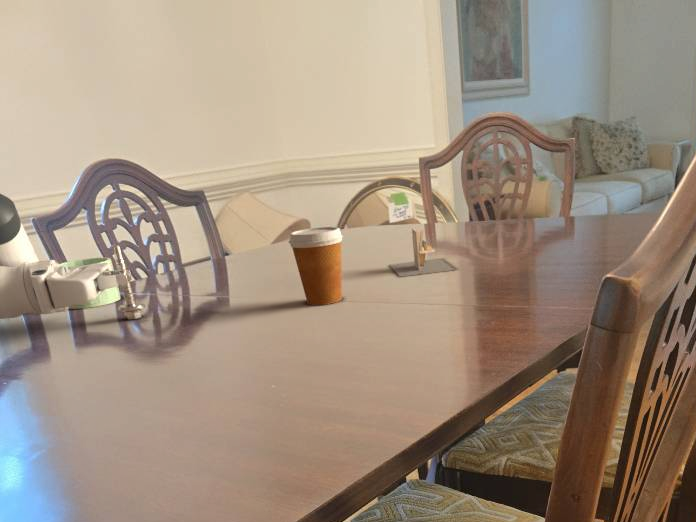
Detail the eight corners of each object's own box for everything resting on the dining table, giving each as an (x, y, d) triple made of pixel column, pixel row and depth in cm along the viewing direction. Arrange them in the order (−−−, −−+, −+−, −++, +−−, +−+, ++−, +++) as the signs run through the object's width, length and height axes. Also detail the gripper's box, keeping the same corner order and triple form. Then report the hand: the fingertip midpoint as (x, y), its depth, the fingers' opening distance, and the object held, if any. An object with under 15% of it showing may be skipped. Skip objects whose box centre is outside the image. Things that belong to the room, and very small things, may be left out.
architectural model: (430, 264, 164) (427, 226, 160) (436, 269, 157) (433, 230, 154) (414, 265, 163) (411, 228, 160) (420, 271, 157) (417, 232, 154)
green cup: (57, 311, 155) (45, 270, 152) (70, 300, 166) (58, 262, 162) (115, 304, 157) (104, 263, 153) (124, 294, 167) (114, 255, 163)
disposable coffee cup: (287, 306, 138) (276, 235, 133) (319, 294, 145) (310, 226, 140) (329, 308, 134) (319, 234, 128) (360, 295, 141) (352, 225, 135)
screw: (142, 320, 140) (116, 322, 140) (151, 314, 144) (126, 316, 145) (123, 244, 134) (96, 247, 134) (133, 240, 138) (107, 243, 138)
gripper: (69, 293, 148) (142, 284, 149) (41, 316, 130) (124, 306, 132) (59, 259, 145) (133, 250, 146) (29, 277, 127) (113, 267, 129)
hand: (129, 277), depth 139 cm, fingers closed on screw, 2 cm apart
